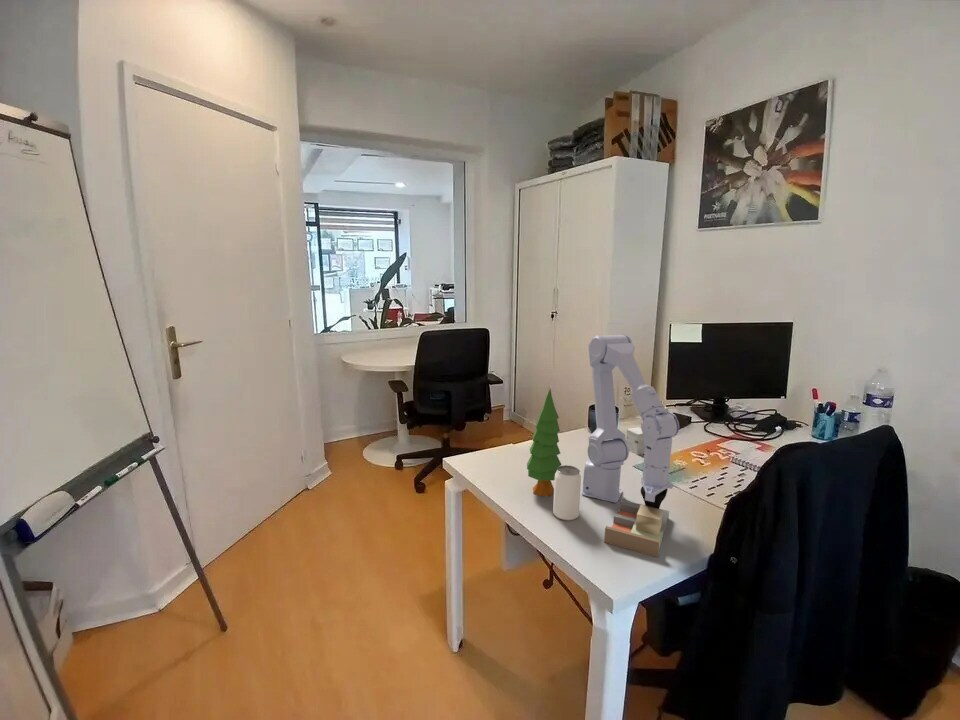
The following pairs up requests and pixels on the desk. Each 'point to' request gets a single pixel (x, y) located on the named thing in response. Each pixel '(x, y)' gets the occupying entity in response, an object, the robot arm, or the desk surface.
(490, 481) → the desk surface
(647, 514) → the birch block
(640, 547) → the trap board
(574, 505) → the can
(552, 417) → the decorative tree
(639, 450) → the skincare box
